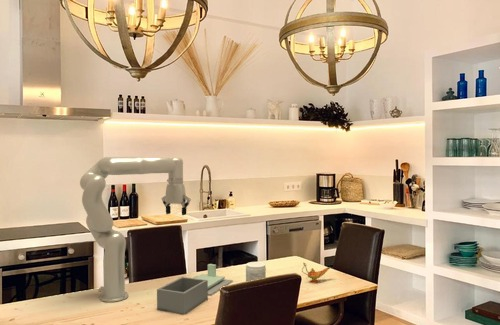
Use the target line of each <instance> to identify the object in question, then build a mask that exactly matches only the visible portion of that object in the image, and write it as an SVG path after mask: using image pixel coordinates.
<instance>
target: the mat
mask: <svg viewBox="0 0 500 325" xmlns="http://www.w3.org/2000/svg"><path fill="white" fill-rule="evenodd" d="M197 276H198V275H196V276H193V278H195V277H197ZM233 282H234V280H232V279H226V278H225V279H223V280H222V281H220V282H218V283H217V284H215V285H213V286H212V287H210V288H208V296H213V295H215V294H216V293H217V292H219V291H220V288H221V287H223V286H225V287H227V286H229V285H230V284H231V283H233ZM226 285H227V286H226Z"/></svg>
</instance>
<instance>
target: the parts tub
mask: <svg viewBox="0 0 500 325" xmlns="http://www.w3.org/2000/svg"><path fill="white" fill-rule="evenodd" d="M208 300H209V295H208V280H202V279H195V278H194V277H186V276H181V277H178V278H177V279H174V280H173V281H171V282H169V283H167V284H165V285H162V286H161V287H158V288H157V289H156V310H157V311H160V312H161V311H162V312H168V313H174V314H179V315H184V316H185V315H187V313H189V312H191V311H192V310H194V309H195V308H197V307H198V306H200V305H201V304H203V303H205V302H206V301H208Z"/></svg>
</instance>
